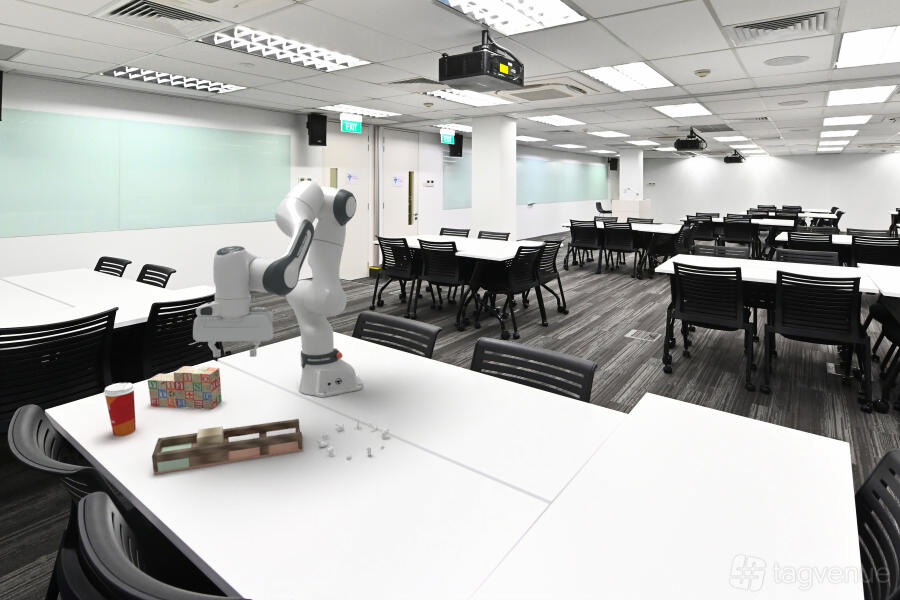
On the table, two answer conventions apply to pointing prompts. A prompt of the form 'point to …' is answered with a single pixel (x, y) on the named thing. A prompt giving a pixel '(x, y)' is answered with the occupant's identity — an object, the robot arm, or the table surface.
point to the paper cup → (121, 408)
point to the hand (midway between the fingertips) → (235, 356)
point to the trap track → (225, 447)
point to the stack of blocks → (187, 388)
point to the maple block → (210, 436)
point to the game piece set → (368, 448)
